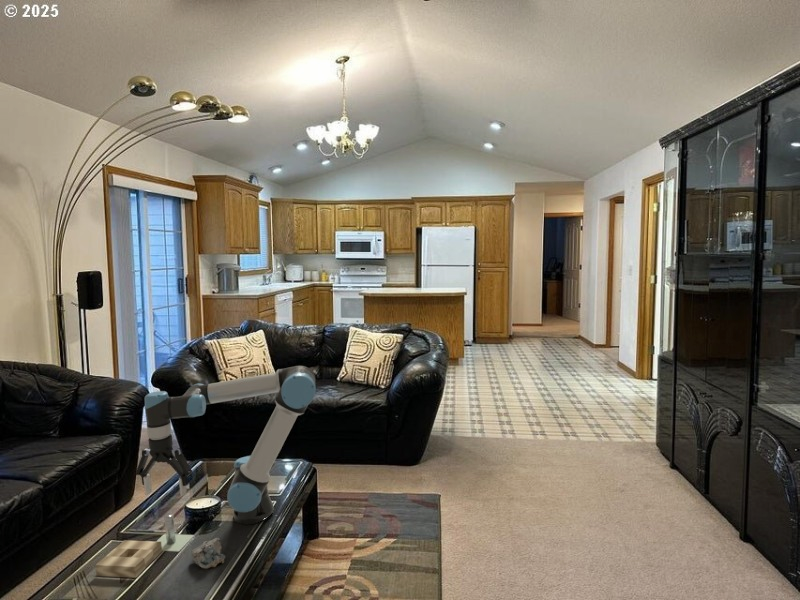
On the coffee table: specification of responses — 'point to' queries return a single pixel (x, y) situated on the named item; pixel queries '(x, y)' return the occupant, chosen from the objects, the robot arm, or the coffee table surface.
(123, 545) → the hole block
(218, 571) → the coffee table surface
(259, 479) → the robot arm
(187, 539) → the mat
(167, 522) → the pin
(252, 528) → the coffee table surface
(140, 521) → the coffee table surface
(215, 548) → the mineral specimen
